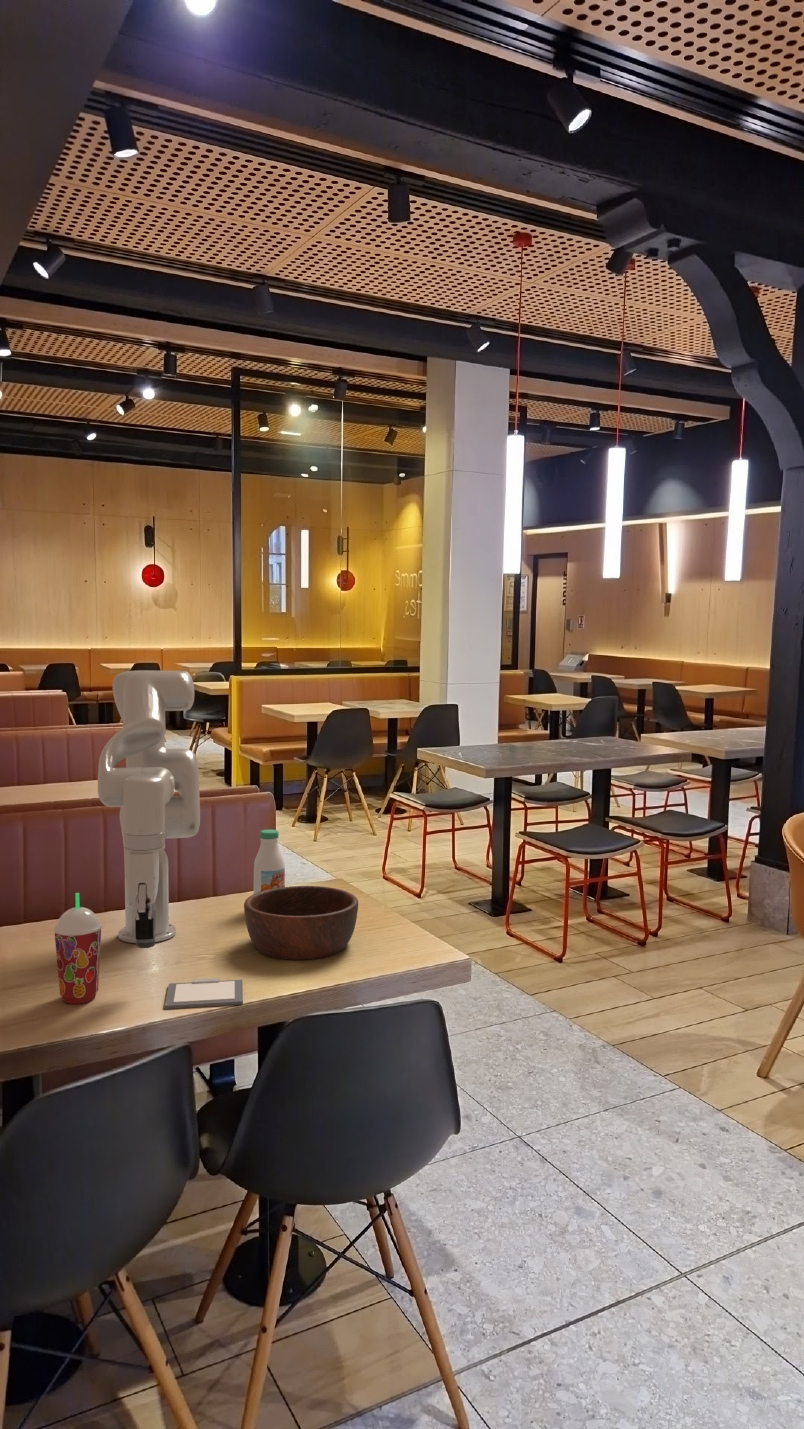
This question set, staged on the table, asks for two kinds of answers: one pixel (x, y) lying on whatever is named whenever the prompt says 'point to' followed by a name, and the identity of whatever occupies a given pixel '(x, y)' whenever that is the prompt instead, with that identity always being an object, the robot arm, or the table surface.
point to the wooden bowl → (301, 921)
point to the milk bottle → (269, 863)
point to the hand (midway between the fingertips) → (145, 934)
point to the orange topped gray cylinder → (151, 942)
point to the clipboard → (204, 993)
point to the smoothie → (78, 954)
